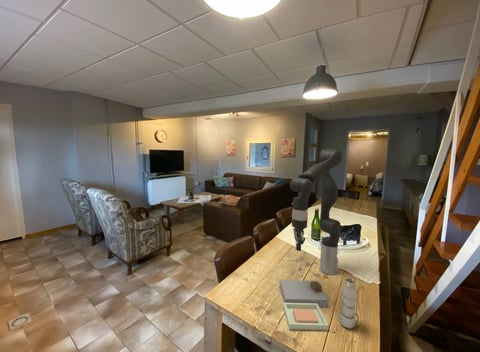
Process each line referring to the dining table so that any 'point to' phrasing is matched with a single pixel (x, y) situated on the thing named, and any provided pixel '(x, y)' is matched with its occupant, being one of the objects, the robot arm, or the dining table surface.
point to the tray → (294, 325)
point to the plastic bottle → (348, 304)
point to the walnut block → (316, 286)
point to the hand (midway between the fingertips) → (298, 249)
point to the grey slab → (301, 293)
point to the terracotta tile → (305, 316)
